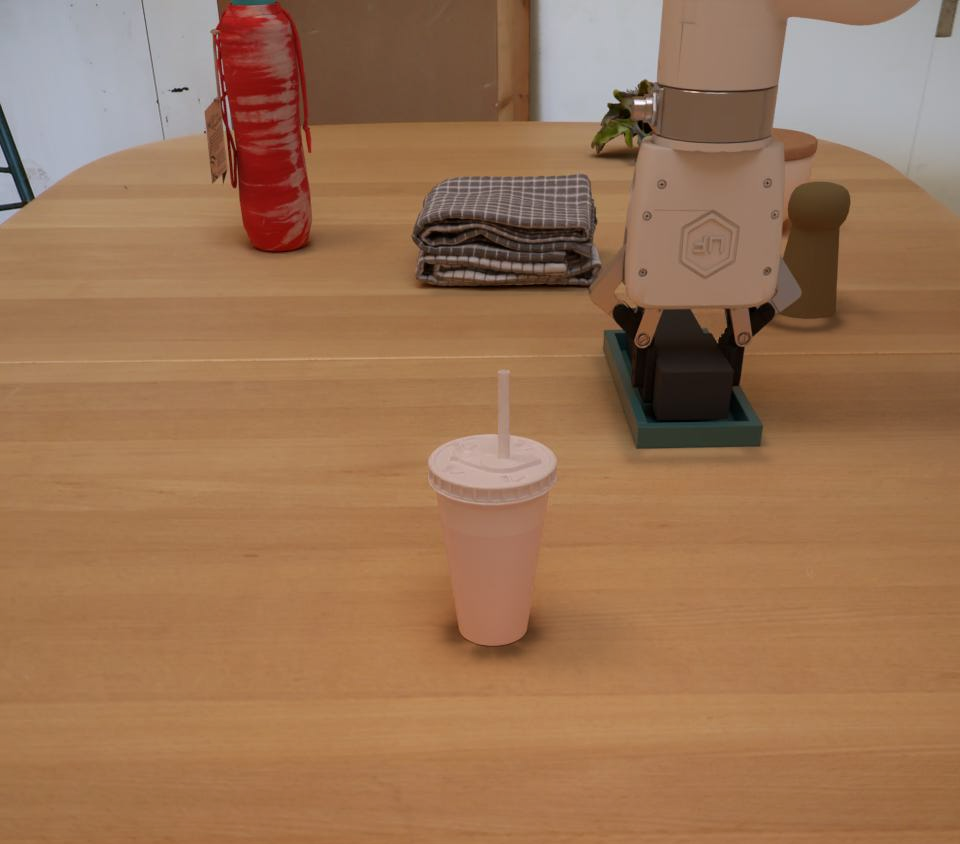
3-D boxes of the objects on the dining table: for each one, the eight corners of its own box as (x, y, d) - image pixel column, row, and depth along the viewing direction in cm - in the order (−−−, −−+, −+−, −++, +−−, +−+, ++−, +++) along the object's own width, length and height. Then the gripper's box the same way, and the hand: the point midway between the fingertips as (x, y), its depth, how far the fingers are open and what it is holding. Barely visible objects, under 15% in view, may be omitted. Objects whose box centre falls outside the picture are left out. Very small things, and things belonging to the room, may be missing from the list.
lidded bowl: (732, 245, 121) (746, 132, 115) (670, 219, 131) (680, 113, 124) (827, 232, 125) (846, 122, 119) (760, 208, 135) (774, 104, 128)
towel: (427, 249, 121) (424, 169, 117) (597, 250, 120) (601, 170, 116) (412, 290, 109) (408, 204, 105) (601, 292, 108) (606, 205, 104)
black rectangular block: (641, 379, 85) (644, 333, 83) (706, 378, 85) (712, 332, 83) (657, 420, 79) (661, 371, 77) (727, 419, 79) (734, 370, 77)
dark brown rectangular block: (625, 350, 93) (628, 307, 91) (685, 349, 94) (689, 306, 91) (638, 385, 87) (642, 340, 85) (703, 384, 87) (708, 339, 85)
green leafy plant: (643, 191, 166) (697, 116, 161) (640, 193, 156) (698, 113, 151) (583, 140, 164) (636, 63, 159) (577, 139, 155) (633, 57, 149)
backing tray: (602, 354, 94) (603, 329, 93) (704, 353, 95) (707, 327, 93) (635, 456, 78) (638, 427, 77) (759, 453, 78) (763, 425, 77)
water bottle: (202, 253, 121) (160, -25, 106) (227, 234, 127) (191, -31, 112) (310, 257, 119) (282, -25, 104) (330, 237, 126) (307, -31, 110)
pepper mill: (776, 301, 106) (795, 173, 99) (841, 309, 104) (865, 179, 97) (760, 319, 101) (778, 187, 95) (827, 328, 99) (851, 194, 93)
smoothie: (544, 665, 58) (552, 400, 49) (422, 654, 58) (409, 392, 50) (559, 601, 63) (568, 351, 54) (446, 592, 63) (438, 344, 55)
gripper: (585, 128, 68) (571, 417, 79) (864, 125, 68) (812, 414, 79) (573, 108, 74) (562, 379, 85) (830, 105, 74) (786, 376, 85)
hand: (683, 393), depth 82 cm, fingers closed on black rectangular block, 4 cm apart
